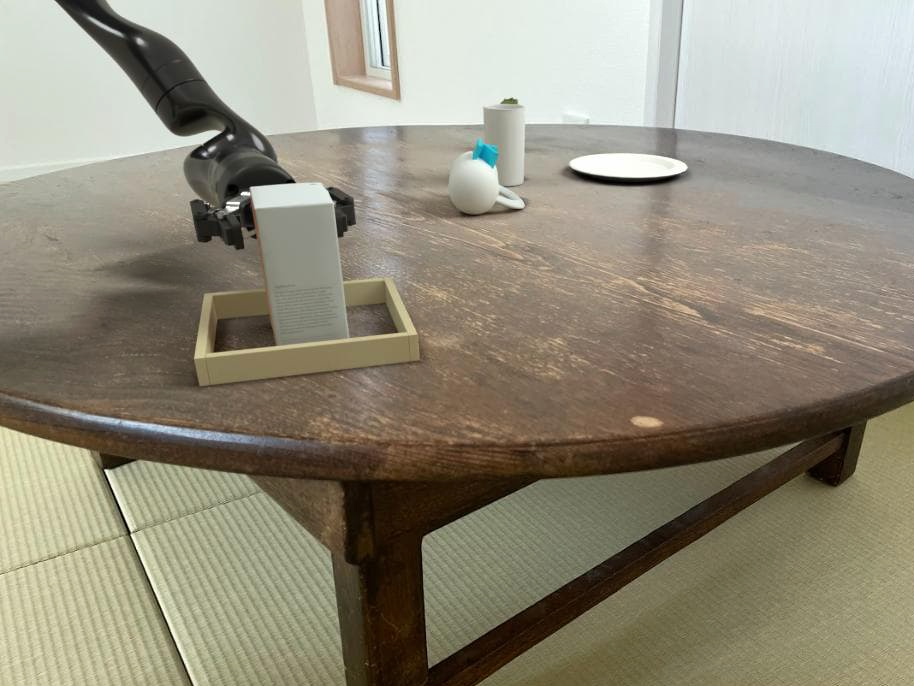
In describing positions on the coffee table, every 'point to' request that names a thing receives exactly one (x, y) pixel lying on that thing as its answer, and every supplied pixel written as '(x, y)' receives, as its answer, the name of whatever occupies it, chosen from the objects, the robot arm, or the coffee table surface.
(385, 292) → the rectangular frame
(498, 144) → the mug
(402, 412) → the coffee table surface
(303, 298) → the small box
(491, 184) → the mug
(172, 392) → the coffee table surface
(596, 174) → the plate
